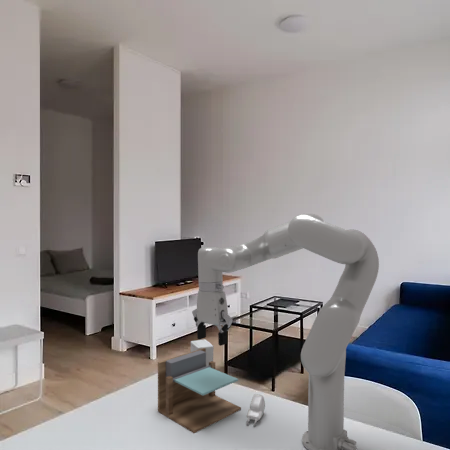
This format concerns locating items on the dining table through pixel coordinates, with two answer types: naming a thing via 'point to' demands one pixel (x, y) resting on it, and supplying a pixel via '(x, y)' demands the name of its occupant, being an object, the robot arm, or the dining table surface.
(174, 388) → the stand
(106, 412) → the dining table surface
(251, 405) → the power adapter
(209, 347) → the skincare box
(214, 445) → the dining table surface
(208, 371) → the flap
